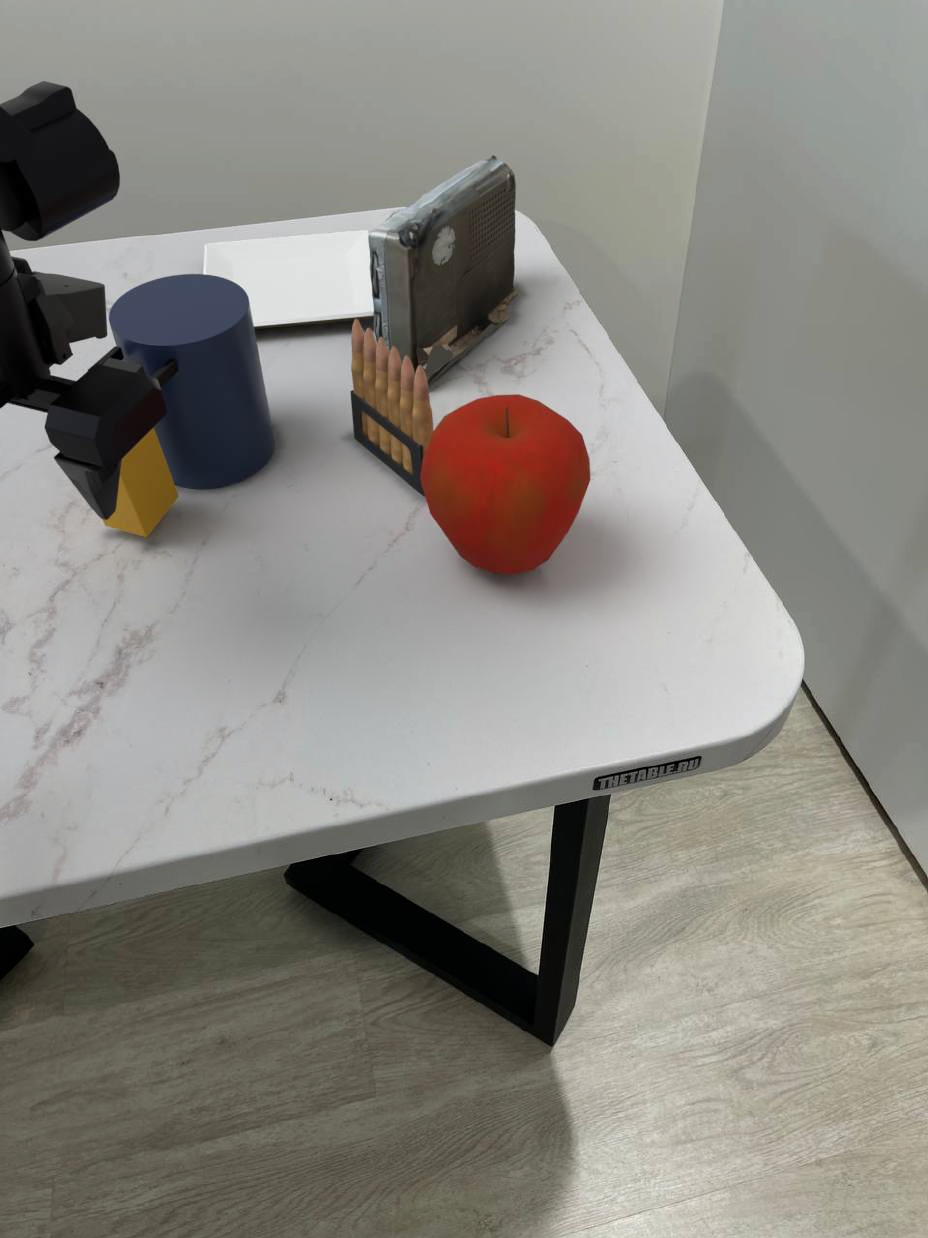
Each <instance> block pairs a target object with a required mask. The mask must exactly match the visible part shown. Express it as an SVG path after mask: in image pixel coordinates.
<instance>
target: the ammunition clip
mask: <svg viewBox="0 0 928 1238" xmlns="http://www.w3.org/2000/svg"><path fill="white" fill-rule="evenodd" d="M350 335H351V338H350V339H351V341H350V343H351V365H350V368H351V377H352V388H353V389H352V390H350V392H349V393H350V404H351V417H352V428H353V429H352V430H353V438H354V439H355V440H356V441H357V442H359V444H360V445H362V446H363V447H364V448H365V449H367V451H369V452H370V453H371V454H372V455H374V456H375V457H376V458H377V459H378V460H380V461H381V462H382V463H383V464H384V465H386V466H387V467H388V468H389V469H390V470H391V471H393V472H394V473H395V474H396V475H398V476H399V477H400V478H401V479H402V480H403V481H404V482H406V483H407V484H408V485H409V486H410V487H412V488H413V489H414V490H415V491H416V492H417V493H419V494H420V495H421V496H425V494H424V490H423V487H422V483H421V480H420V477H421V469H422V460H423V456H424V453H425V450H426V448H427V445H428V442H429V439H430V436H431V434H432V432H433V431H434V419H433V418H434V416H433V408H432V405H431V398H430V391H429V389H430V388H429V385H428V382H427V377H426V374H425V371H424V369H423V367H422V366H421V365H419V366H418V368H417V370H416V373H414V368H413V365H412V362H411V360H410V358H409V357H408V356H407V355H406V356H405V357H404V360H403V363H401V359H400V355H399V353H398V350H397V349H396V347H395V346H393V347H392V348H391V351H390V355H389V351H388V348H387V345H386V343H385V341H384V339H383V337H380V338H379V340H378V343H377V341H376V337H375V334H374V333H373V331H372V329H371V327H367V328H366V331H365V332H364V330H363V327H362V324H361V323H360V320H359V319H355V320H353V323H352V329H351V334H350Z"/></svg>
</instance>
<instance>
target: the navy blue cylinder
mask: <svg viewBox="0 0 928 1238" xmlns="http://www.w3.org/2000/svg"><path fill="white" fill-rule="evenodd" d="M108 322H109V323H108V324H109V326H110V329H111V330H110V331H111V332H112V336H113V340H114V343H115V346H113V347H112V348H111V349H110V350H109V351H107V352H106V353H105V354H104V355H103V356H102V357H101V358H100V359H98V360H97V361H96V362H95V363H93V364H92V365H91V366H90V367H89V368H88V369H87V371H89V370H90V369H91V368H92V367H93V366H94V365H95V364H101V365H103V364H104V363H105V362H106V361H107V359H108V358H113V359H117V360H122V361H126V362H131V363H135V364H140V365H143V368H144V371H145V373H146V375H147V376H149V377H152V378H154V379H157V380H158V382H159V385H160V388H161V390H162V394H163V398H164V401H165V405H166V409H167V412H168V413H167V414H166V415H165V416H164V417H163V418H162V419H161V420H160V421H159V422H158V423H157V424H156V425H155V426H154V429H155V432H156V435H157V437H158V440H159V443H160V446H161V448H162V451H163V454H164V456H165V459H166V462H167V465H168V467H169V470H170V473H171V476H172V478H173V481H174V484H175V486H178V487H180V488H186V489H194V490H207V489H208V490H210V489H217V488H223V487H227V486H228V487H229V486H231V485H234V484H238V483H240V482H242V481H245V480H247V479H249V478H251V477H252V476H254V475H255V474H257V473H259V472H260V471H261V470H262V469H263V468H264V467H265V466H266V465H268V463H269V462H270V460H271V459H272V457H273V455H274V452H275V449H276V439H275V433H274V430H273V429H274V428H273V423H272V418H271V411H270V407H269V401H268V396H267V391H266V386H265V380H264V379H265V378H264V375H263V374H264V373H263V368H262V364H261V357H260V352H259V348H258V342H257V336H256V331H255V330H256V329H254V325H253V319H252V314H251V308H250V303H249V298H248V295H247V293H246V292H245V290H244V289H243V288H242V287H241V286H239V285H238V284H236V283H235V282H232V281H230V280H228V279H225V278H222V277H218V276H213V275H205V274H203V273H202V274H201V273H184V274H175V275H174V274H173V275H168V276H163V277H159V278H155V279H152V280H149V281H146V282H143V283H141V284H138V285H137V286H135V287H132V288H131V289H129V290H128V291H126V292H125V293H123V294H122V295H121V296H120V297H119V298H117V299H116V300H115V302H114V303H113V304H112V305H111V307H110V309H109V313H108ZM87 371H86V372H87Z"/></svg>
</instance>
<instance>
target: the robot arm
mask: <svg viewBox="0 0 928 1238" xmlns="http://www.w3.org/2000/svg"><path fill="white" fill-rule="evenodd" d="M120 185H121V173H120V168H119V162H118V160H117V156H116V153H115V152H114V151H113V150H112V149H110V147H109V144H108V143H107V140H106V139H105V138H104V136H103V134H102V133H101V131H100V130H99V128H98V127H97V126H96V125H95V124H94V122H92V120H91V119H90V118H89V117H88V116H87V115H86V114H85V113H83V112H82V111H81V110H80V109H78V108H77V105H76V101H75V97H74V93H73V90H72V89H71V87H69V86H66V85H62V84H58V83H54V82H50V81H46V80H43V81H40V82H37V83H35V84H33V85H31V86H29V87H27V88H26V89H25V90H24V91H22V92H21V94H19V95H17V96H15V97H13V98H11V99H8V100H6V101H4V102H1V103H0V410H1V409H2V408H4V407H5V406H6V405H7V404H9V405H13V406H17V407H20V408H21V407H22V408H26V409H29V410H33V411H37V412H40V413H41V412H42V413H46V419H45V423H44V430H45V433H46V436H47V438H48V441H49V443H50V445H52V446H53V447H55V448H56V449H57V451H58V452H57V453H56V454H55V455H54V456H53V459H54V461H55V462H56V464H57V465H58V466H59V468H60V469H61V470H62V471H63V473H64V474H65V476H66V477H67V478H68V480H69V481H70V482H71V483H72V484H73V486H74V487H75V489H76V490H77V491H78V493H79V494H80V495H81V496H82V498H83V499H84V500H85V502H86V503H87V505H88V506H89V508H91V509H92V510H93V511H94V512H95V514H96V515H97V516H98V517H99V518H100V519H101V520H103V519H104V520H108V519H109V518H110V517H111V516H112V515H113V513H114V512H115V510H116V505H117V496H118V487H119V478H120V470H121V462H122V458H123V457H124V456H125V455H126V454H127V453H128V452H129V451H130V450H131V449H132V448H133V447H134V446H135V445H136V444H137V443H138V442H139V441H140V440H141V439H142V438H143V437H144V436H145V435H146V434H147V433H148V432H149V431H150V430H151V429H152V428H153V427H154V426H155V425H156V424H157V423H158V422H159V421H160V420H161V419H162V418H163V417H164V416H165V415H166V414H167V413H168V412H167V409H166V405H165V401H164V398H163V394H162V390H161V388H160V385H159V382H158V380H157V379H154V378H152V377H149V376H147V375H144V374H140V373H135V372H131V371H127V370H122V369H118V368H114V367H109V366H105V365H101V364H95V363H94V364H95V365H94V364H93V365H94V366H93V365H92V366H93V367H92V368H91V369H90V370H89V371H86V372H85V373H84V374H82V376H80V377H79V378H78V379H77V380H75V379H74V380H73V379H71V378H70V379H69V378H66V377H61V376H56V375H53V374H51V373H52V372H51V367H52V366H53V365H56V366H57V365H58V366H62V365H63V364H64V363H65V362H67V361H68V360H69V359H70V358H71V357H73V356H74V355H73V351H72V348H71V345H70V344H73V343H77V342H81V341H85V340H89V339H94V338H95V339H97V340H101V339H104V338H105V339H106V338H107V337H108V319H107V300H106V285H105V284H104V283H102V282H98V281H94V280H88V279H83V278H78V277H73V276H68V275H64V274H58V273H49V272H48V273H46V272H42V271H41V272H40V271H36V270H32V268H31V266H30V264H29V261H28V260H26V259H25V258H23V257H17V256H12V255H11V252H10V249H9V246H8V244H7V240H6V238H5V235H4V233H3V232H8V233H11V234H12V235H15V236H16V237H18V238H19V239H22V240H25V241H28V242H37V241H40V240H42V239H45V238H46V237H48V236H49V235H51V234H53V233H55V232H56V231H59V230H60V229H62V228H64V227H65V226H68V225H70V224H71V223H73V222H75V221H76V220H77V221H78V219H80V218H82V217H84V216H86V215H88V214H89V213H91V212H94V211H96V210H97V209H98V208H101V207H103V206H104V205H106V204H108V203H110V202H111V201H113V200H114V199H115V197H117V196H118V193H119V190H120Z"/></svg>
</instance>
